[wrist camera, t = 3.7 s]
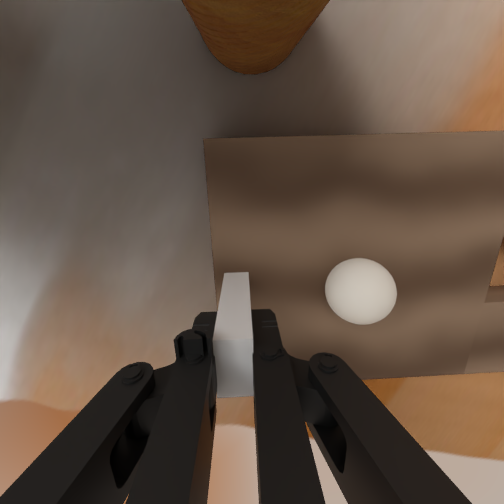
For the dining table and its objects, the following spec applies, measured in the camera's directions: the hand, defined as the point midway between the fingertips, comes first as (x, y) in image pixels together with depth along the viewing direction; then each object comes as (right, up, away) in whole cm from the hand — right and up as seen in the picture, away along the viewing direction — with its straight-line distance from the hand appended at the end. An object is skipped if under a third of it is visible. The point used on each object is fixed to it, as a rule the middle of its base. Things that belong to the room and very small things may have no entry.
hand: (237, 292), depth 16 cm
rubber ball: (+8, 0, -1) cm, 8 cm away
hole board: (+13, +2, +4) cm, 14 cm away
